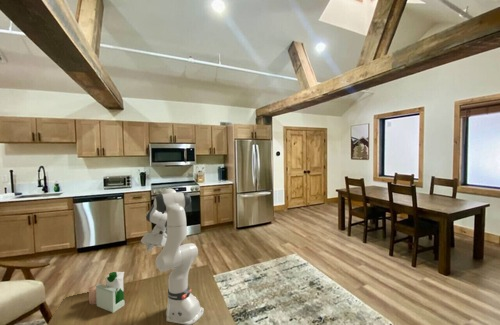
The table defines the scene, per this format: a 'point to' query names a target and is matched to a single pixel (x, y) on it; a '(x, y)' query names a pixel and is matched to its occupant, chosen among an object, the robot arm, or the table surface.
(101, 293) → the display nook
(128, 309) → the table surface
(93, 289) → the terracotta jar
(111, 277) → the soya milk
